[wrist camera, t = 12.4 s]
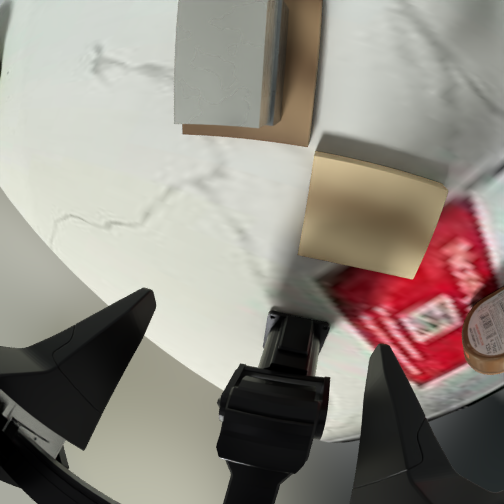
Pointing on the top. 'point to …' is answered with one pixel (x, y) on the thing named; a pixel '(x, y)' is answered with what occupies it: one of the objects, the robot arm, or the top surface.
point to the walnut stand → (287, 83)
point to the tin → (485, 334)
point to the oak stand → (369, 215)
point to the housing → (230, 62)
